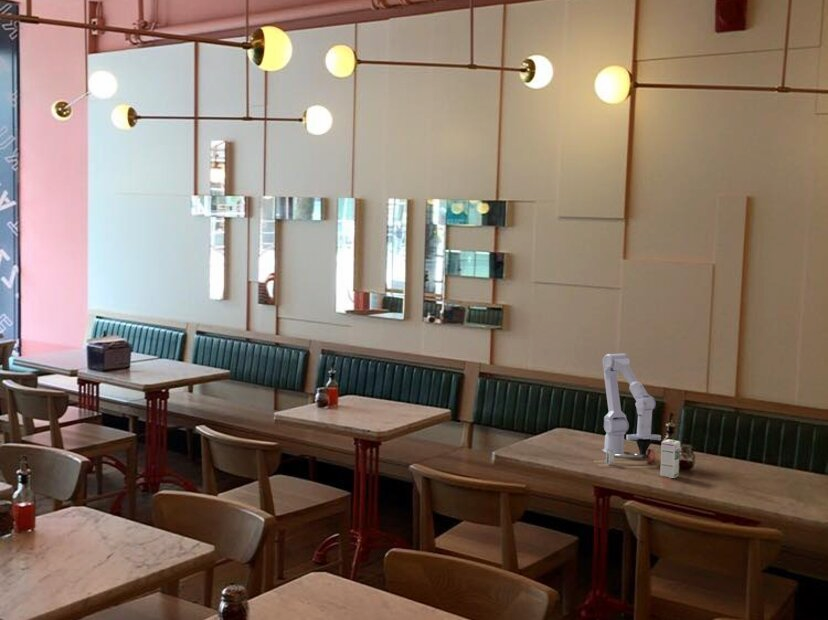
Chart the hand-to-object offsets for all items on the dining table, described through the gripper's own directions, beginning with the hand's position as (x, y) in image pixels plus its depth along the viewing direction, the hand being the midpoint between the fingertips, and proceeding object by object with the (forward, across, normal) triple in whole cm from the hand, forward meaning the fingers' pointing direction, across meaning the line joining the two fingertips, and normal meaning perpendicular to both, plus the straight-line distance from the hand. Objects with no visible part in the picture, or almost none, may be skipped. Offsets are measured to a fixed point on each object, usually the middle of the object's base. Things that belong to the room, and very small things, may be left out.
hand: (642, 456), depth 400 cm
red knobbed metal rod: (+2, -5, -2) cm, 6 cm away
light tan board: (+3, -8, -2) cm, 9 cm away
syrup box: (+3, +4, -20) cm, 20 cm away
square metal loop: (+2, -15, -2) cm, 16 cm away
